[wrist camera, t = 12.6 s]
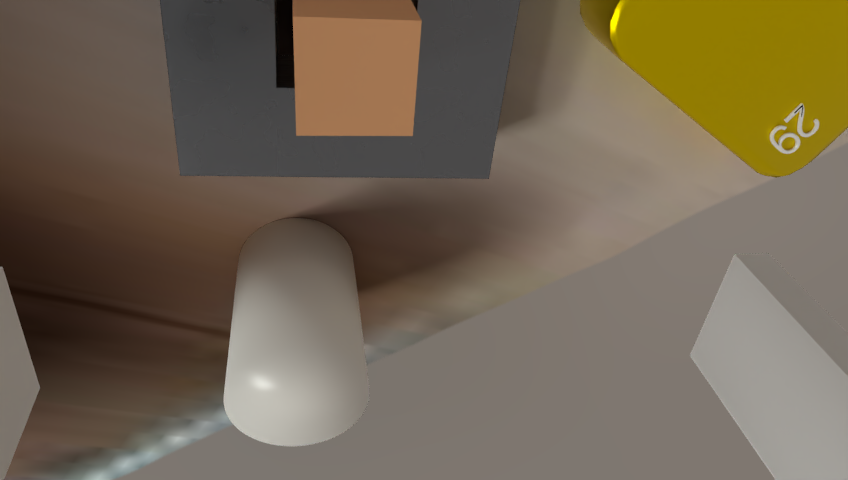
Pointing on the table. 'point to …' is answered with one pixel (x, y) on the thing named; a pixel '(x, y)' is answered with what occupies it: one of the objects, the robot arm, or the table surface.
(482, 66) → the bore block
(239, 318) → the round peg
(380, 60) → the square peg
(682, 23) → the element tile
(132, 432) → the table surface
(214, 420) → the table surface
